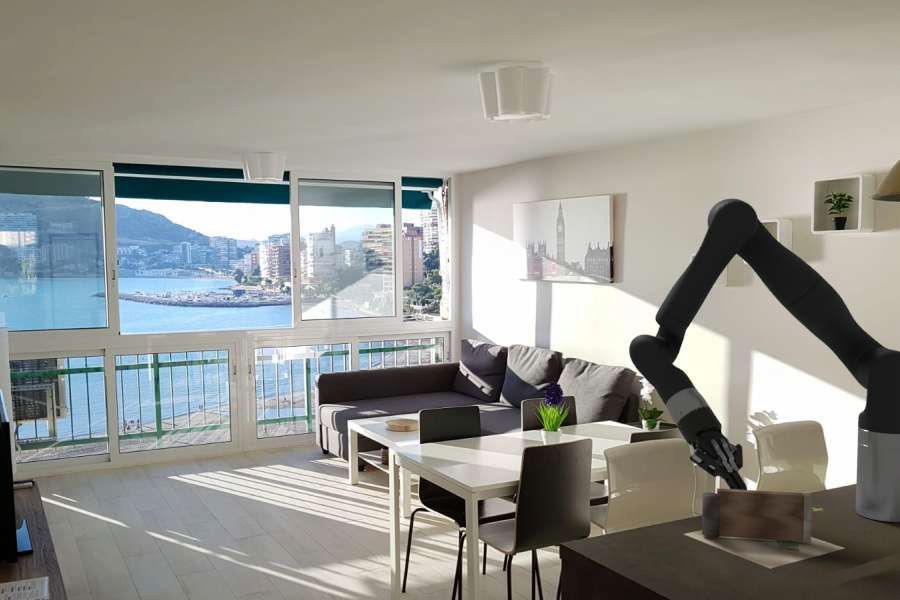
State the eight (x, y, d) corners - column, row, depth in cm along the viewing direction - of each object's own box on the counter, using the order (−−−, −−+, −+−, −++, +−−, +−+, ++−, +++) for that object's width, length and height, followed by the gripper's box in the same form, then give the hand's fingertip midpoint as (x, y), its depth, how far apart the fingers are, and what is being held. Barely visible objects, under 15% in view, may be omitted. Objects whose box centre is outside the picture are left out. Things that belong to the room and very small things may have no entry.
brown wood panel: (806, 537, 133) (807, 492, 133) (811, 543, 130) (813, 497, 130) (700, 531, 136) (701, 486, 136) (703, 536, 133) (704, 491, 133)
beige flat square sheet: (755, 526, 145) (755, 517, 145) (844, 556, 130) (844, 546, 130) (683, 542, 136) (683, 532, 136) (770, 577, 120) (770, 567, 120)
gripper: (679, 407, 147) (729, 486, 137) (726, 402, 154) (778, 477, 144) (658, 429, 152) (705, 507, 142) (705, 424, 159) (753, 498, 148)
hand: (741, 492), depth 143 cm, fingers closed
